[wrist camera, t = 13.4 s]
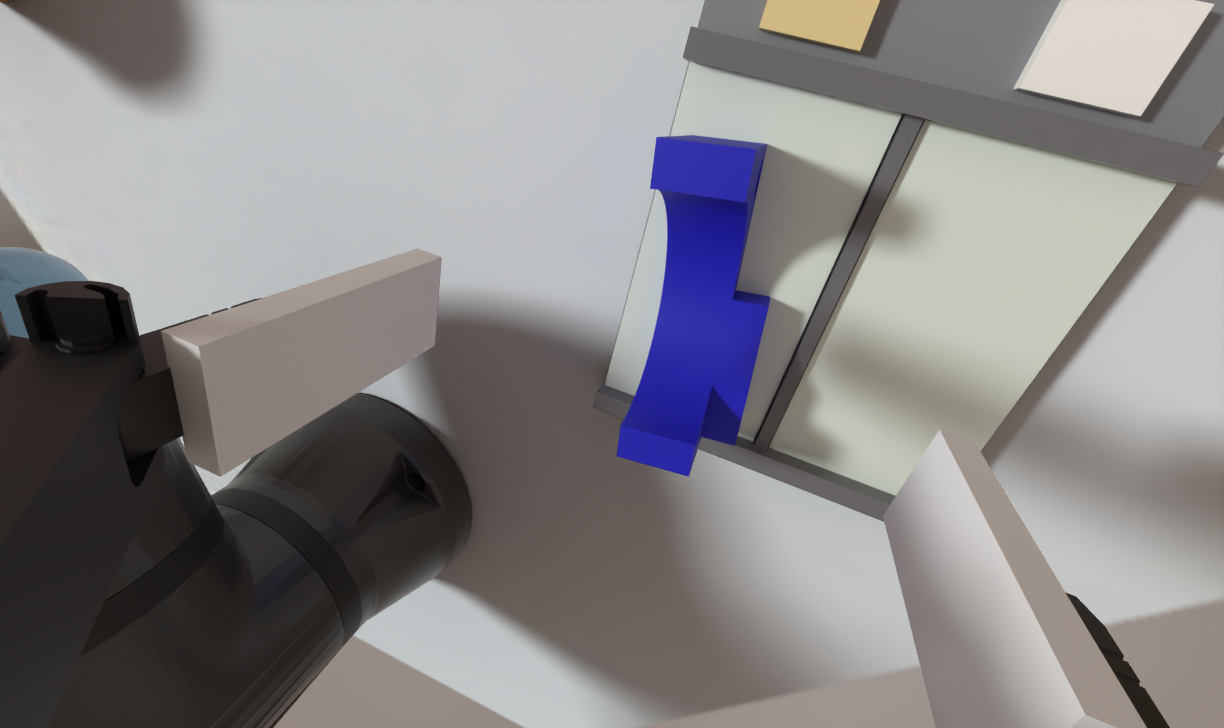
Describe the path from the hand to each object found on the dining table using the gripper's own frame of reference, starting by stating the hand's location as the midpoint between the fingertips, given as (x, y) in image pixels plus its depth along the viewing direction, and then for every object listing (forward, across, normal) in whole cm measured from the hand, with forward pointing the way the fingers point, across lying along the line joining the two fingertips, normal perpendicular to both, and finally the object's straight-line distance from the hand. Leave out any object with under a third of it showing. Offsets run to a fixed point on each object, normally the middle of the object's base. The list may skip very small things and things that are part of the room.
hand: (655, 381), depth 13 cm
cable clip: (+11, 0, 0) cm, 11 cm away
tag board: (+12, +5, +2) cm, 13 cm away
